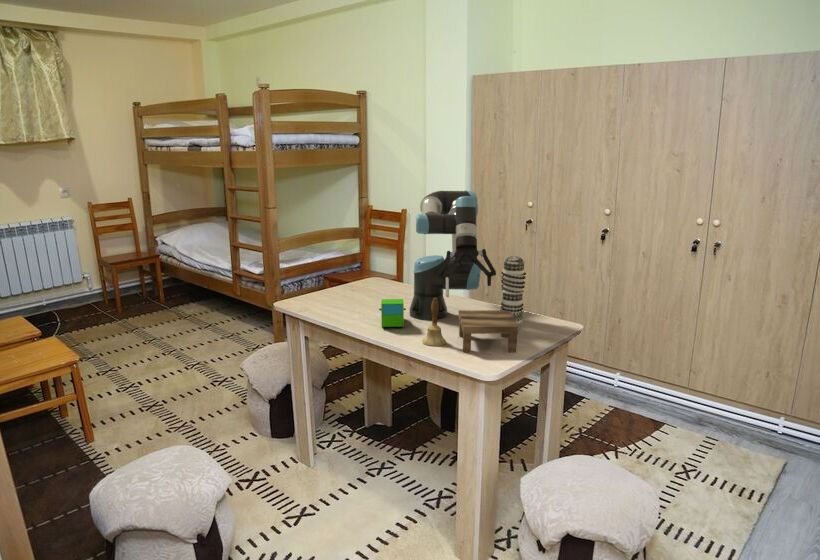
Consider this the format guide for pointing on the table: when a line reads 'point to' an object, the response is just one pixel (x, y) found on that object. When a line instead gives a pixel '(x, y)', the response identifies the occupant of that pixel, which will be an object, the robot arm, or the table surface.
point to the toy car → (392, 312)
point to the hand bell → (434, 328)
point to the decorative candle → (513, 287)
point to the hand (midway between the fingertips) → (466, 295)
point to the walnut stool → (487, 326)
